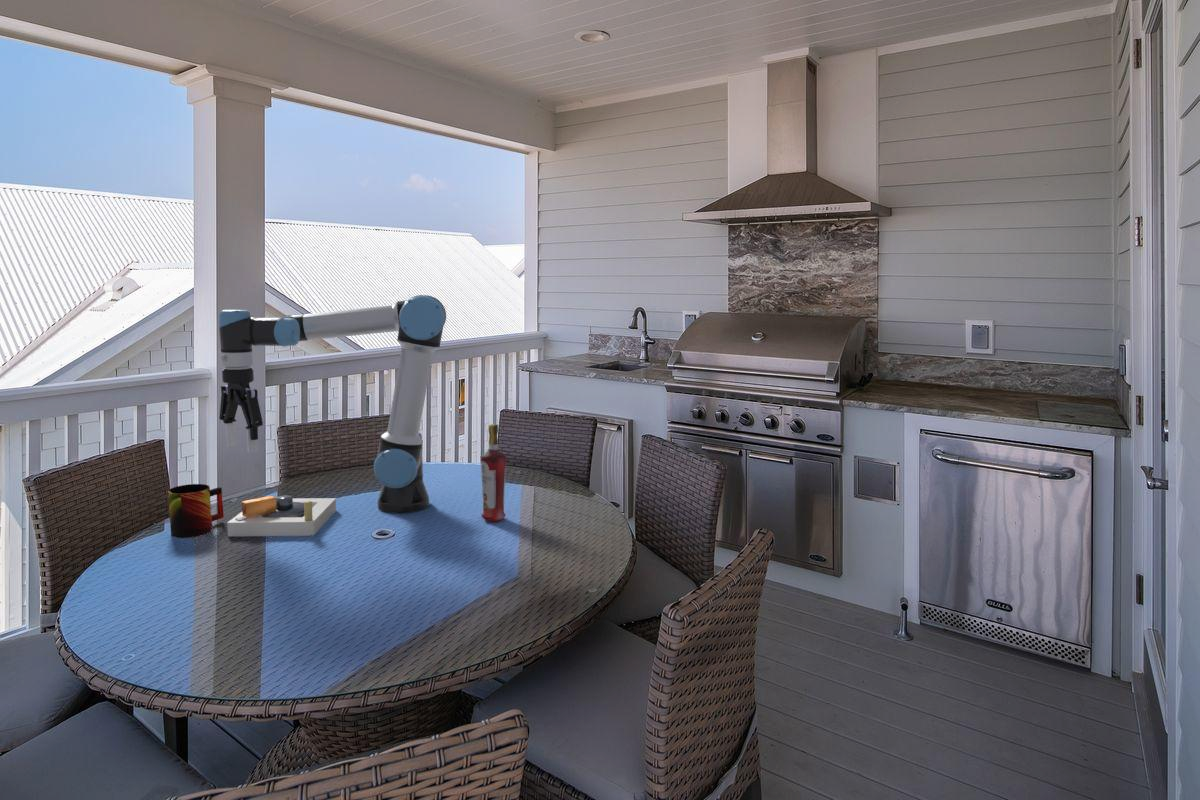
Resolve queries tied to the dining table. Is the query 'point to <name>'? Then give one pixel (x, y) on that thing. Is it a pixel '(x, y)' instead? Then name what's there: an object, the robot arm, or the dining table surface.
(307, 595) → the dining table surface
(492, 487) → the liquor
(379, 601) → the dining table surface
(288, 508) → the dial
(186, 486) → the mug
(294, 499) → the housing
